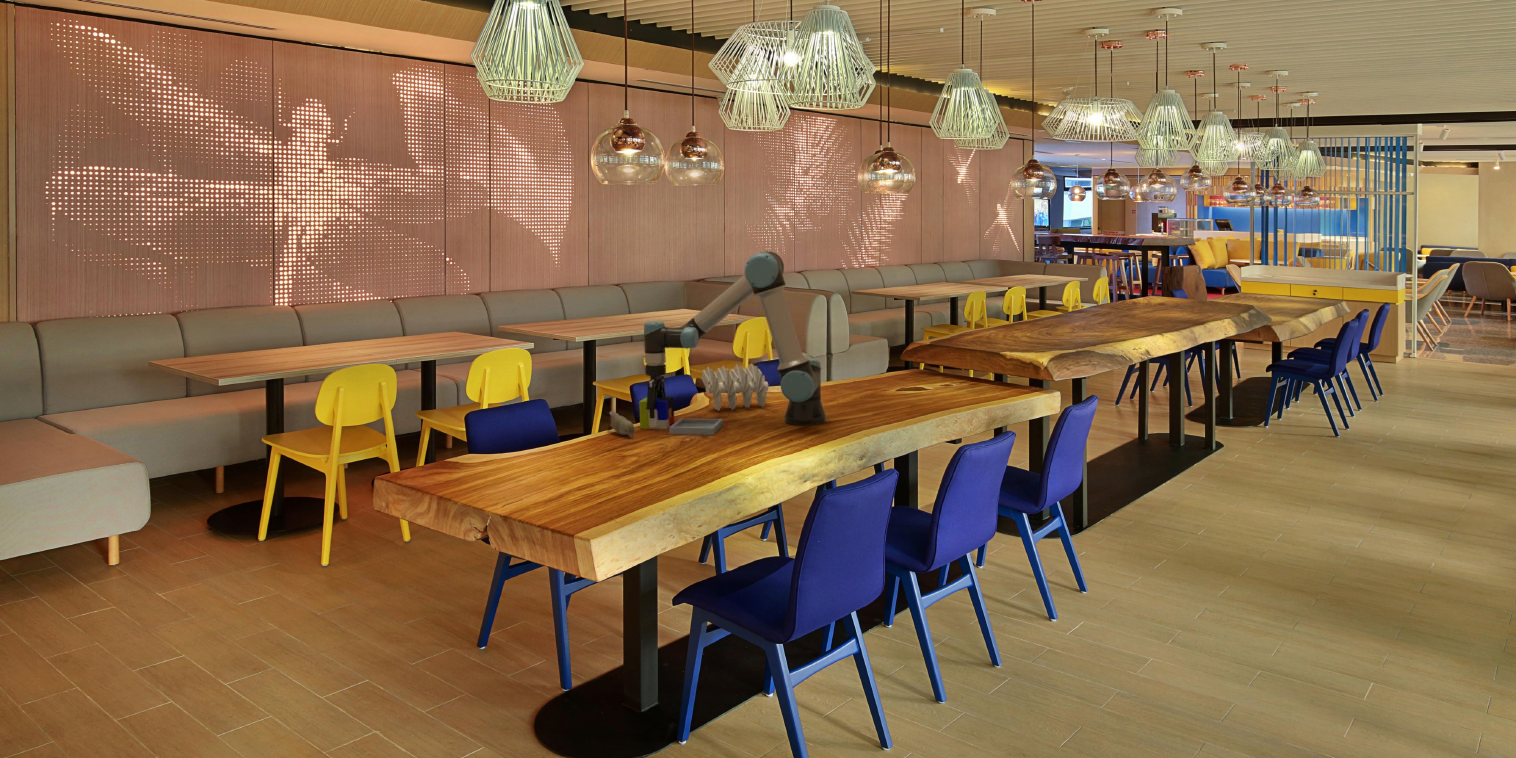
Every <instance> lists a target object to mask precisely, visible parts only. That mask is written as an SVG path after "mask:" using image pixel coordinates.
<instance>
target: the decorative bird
mask: <svg viewBox="0 0 1516 758" xmlns="http://www.w3.org/2000/svg"><path fill="white" fill-rule="evenodd" d="M609 415H610V423H611V424H608V427H607V429H608V430H607V432H610V431H612V432H613V430H614V431H615V433H617V435H618V434H619V435H622V436H626V435H627V436H628V437H629V438H630V439H633V438H634V435H635V425H634V424H633V422H631V420H628V419H627V418H626V417H624V416H623V415H620V414H619V413H617V412H615V411H613V410H611V411H610V412H609Z"/></svg>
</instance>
